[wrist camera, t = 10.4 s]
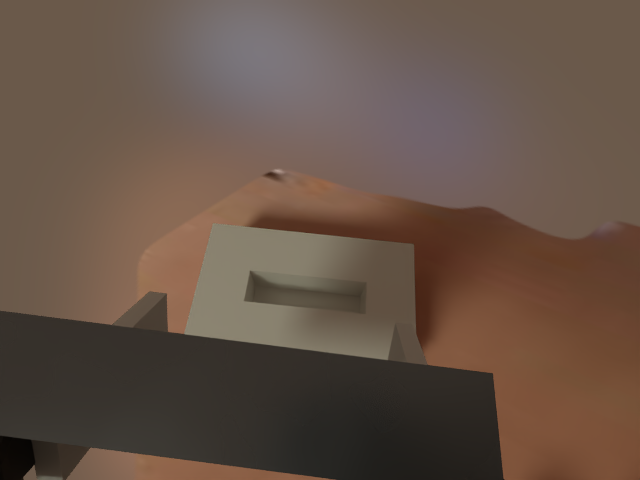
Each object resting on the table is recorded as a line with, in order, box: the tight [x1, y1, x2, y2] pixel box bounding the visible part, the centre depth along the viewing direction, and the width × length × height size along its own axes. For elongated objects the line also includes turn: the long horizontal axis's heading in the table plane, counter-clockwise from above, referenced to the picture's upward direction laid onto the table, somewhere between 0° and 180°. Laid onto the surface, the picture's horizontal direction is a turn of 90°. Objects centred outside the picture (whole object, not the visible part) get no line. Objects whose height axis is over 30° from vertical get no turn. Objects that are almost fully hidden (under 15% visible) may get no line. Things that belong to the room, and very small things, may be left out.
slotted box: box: [184, 223, 416, 360], centre depth 35 cm, size 20×12×6 cm, turn 84°
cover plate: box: [0, 311, 503, 480], centre depth 13 cm, size 10×2×16 cm, turn 83°
